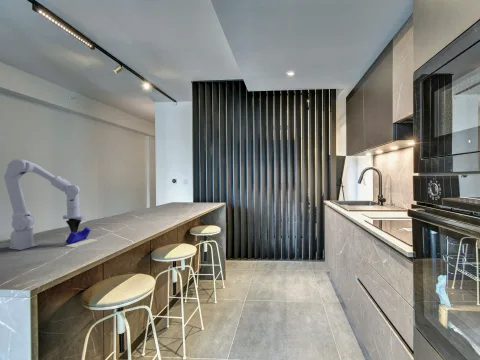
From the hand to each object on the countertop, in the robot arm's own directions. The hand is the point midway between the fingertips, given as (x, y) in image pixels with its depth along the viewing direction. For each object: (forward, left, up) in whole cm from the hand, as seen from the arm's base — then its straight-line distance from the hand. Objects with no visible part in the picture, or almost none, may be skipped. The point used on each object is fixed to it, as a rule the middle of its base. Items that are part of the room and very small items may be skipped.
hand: (74, 233), depth 137 cm
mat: (+6, 0, -5) cm, 8 cm away
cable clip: (-1, +1, -4) cm, 4 cm away
